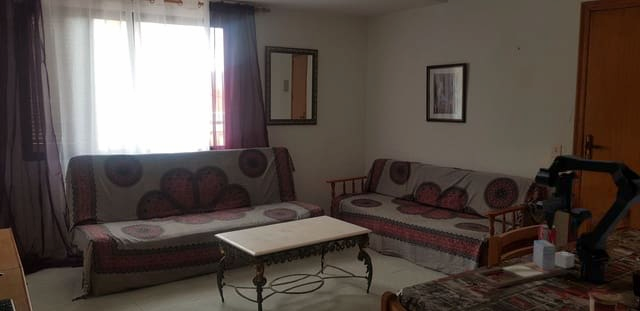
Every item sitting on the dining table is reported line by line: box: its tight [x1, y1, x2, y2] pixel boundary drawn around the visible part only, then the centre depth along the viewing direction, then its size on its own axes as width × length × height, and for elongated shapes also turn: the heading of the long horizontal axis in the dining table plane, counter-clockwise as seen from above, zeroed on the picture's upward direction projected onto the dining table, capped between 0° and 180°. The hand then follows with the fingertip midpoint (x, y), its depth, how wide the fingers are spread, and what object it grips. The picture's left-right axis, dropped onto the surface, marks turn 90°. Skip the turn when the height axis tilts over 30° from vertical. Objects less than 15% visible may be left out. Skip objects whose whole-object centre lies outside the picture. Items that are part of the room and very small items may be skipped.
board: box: [470, 261, 569, 289], centre depth 169 cm, size 12×33×1 cm, turn 116°
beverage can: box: [538, 223, 558, 252], centre depth 189 cm, size 6×6×12 cm
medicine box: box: [532, 239, 557, 270], centre depth 173 cm, size 8×4×9 cm, turn 179°
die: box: [555, 250, 575, 269], centre depth 178 cm, size 4×4×5 cm
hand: (561, 232), depth 174 cm, fingers open, 9 cm apart
